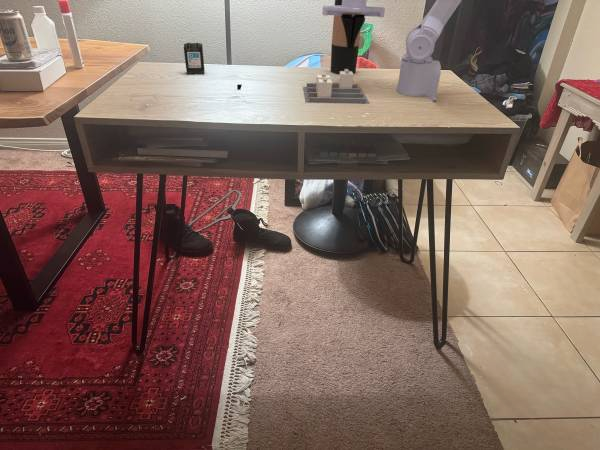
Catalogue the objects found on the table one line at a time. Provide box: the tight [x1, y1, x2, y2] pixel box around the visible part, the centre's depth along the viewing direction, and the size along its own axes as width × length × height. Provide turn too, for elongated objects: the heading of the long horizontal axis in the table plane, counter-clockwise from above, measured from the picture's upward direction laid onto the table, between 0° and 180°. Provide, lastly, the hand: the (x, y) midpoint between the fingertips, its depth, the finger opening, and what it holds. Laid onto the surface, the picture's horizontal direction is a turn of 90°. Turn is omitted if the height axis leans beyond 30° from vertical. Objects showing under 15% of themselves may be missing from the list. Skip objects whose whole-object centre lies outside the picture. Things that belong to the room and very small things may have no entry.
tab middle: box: [315, 71, 331, 92], centre depth 103 cm, size 3×3×5 cm
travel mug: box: [330, 0, 363, 76], centre depth 119 cm, size 8×8×20 cm
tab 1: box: [317, 77, 333, 98], centre depth 99 cm, size 3×3×5 cm
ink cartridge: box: [183, 42, 205, 75], centre depth 119 cm, size 5×2×8 cm, turn 99°
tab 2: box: [338, 69, 354, 88], centre depth 106 cm, size 3×3×5 cm
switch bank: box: [302, 82, 371, 105], centre depth 104 cm, size 15×13×2 cm
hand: (350, 48), depth 106 cm, fingers closed
